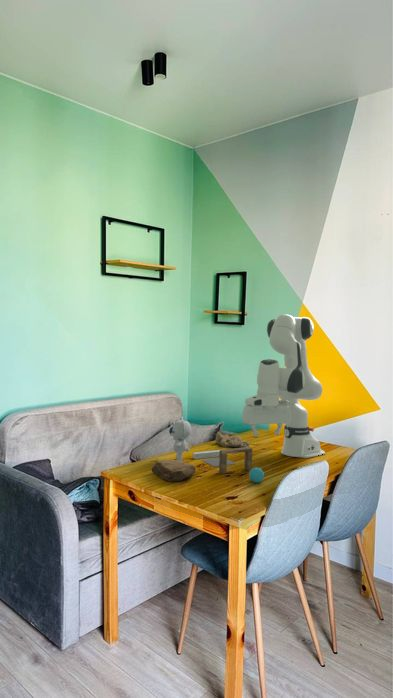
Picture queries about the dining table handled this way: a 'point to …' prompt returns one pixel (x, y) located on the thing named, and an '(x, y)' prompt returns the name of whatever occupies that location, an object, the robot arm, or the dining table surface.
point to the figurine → (230, 441)
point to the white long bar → (206, 454)
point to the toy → (180, 436)
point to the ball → (256, 475)
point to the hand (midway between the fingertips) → (266, 435)
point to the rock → (173, 470)
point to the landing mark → (216, 462)
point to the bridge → (237, 450)
